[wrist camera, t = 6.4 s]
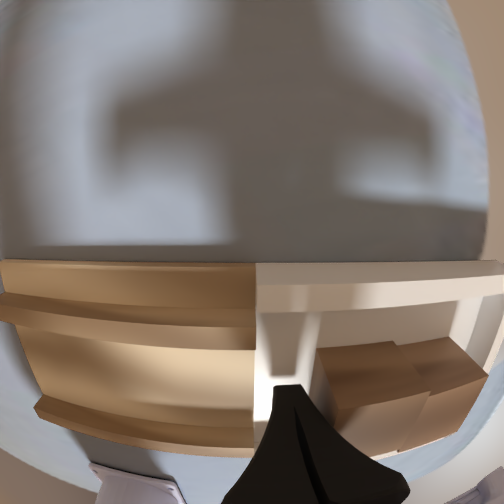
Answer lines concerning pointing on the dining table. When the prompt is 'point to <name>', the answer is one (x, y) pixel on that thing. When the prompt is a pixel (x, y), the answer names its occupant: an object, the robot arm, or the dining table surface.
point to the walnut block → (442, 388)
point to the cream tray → (368, 315)
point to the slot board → (140, 350)
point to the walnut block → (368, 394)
